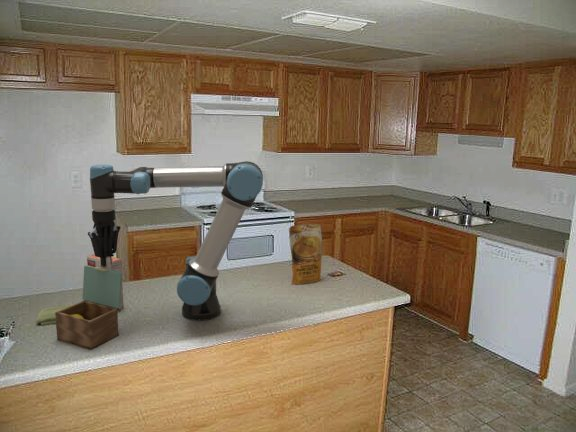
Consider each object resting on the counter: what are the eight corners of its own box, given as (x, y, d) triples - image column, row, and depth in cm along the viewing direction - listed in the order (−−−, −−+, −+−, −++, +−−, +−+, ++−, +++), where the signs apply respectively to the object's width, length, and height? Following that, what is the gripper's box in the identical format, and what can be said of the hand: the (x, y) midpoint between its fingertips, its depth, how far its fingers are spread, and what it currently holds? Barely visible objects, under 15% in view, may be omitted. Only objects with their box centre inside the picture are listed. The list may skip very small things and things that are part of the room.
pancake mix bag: (284, 282, 224) (285, 224, 218) (318, 276, 232) (320, 221, 227) (290, 286, 218) (292, 228, 212) (325, 281, 227) (328, 224, 221)
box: (122, 334, 166) (121, 308, 164) (92, 350, 154) (91, 322, 152) (86, 324, 173) (85, 299, 171) (56, 339, 161) (53, 312, 159)
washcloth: (39, 314, 182) (38, 306, 181) (88, 308, 188) (88, 300, 188) (35, 328, 170) (35, 319, 169) (88, 321, 177) (88, 313, 176)
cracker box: (89, 305, 190) (86, 255, 186) (101, 300, 195) (99, 252, 191) (111, 313, 183) (108, 262, 179) (124, 308, 188) (121, 258, 184)
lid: (115, 309, 161) (120, 308, 163) (117, 272, 160) (122, 271, 162) (79, 300, 168) (84, 299, 170) (81, 264, 167) (85, 264, 169)
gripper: (109, 205, 170) (112, 267, 175) (80, 211, 158) (84, 277, 163) (125, 207, 167) (128, 270, 172) (96, 213, 155) (100, 281, 160)
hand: (106, 274), depth 167 cm, fingers closed
